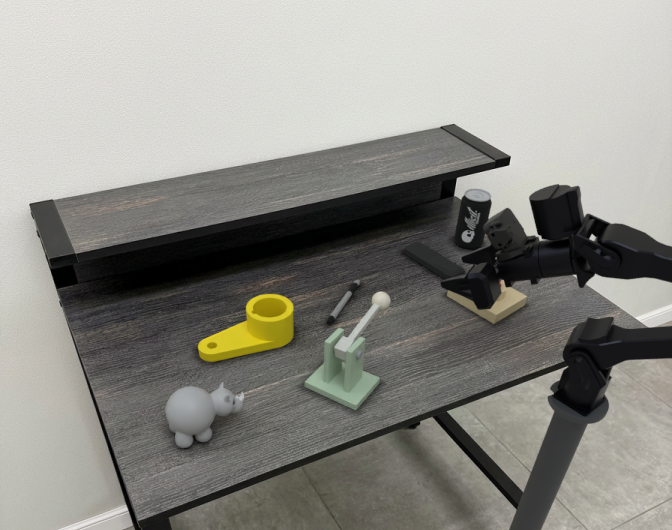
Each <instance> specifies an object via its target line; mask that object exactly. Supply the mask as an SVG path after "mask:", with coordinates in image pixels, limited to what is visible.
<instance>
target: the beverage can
mask: <svg viewBox="0 0 672 530" xmlns="http://www.w3.org/2000/svg"><path fill="white" fill-rule="evenodd" d="M492 202H493V201H492V194H491V193H490V192H489V191H487V190H485V189H482V188H467V190H465V191H464V194H463V196H462V197H461V199H460V205H459V211H458V215H457V222H456V227H455V232H454V238H453V240H454V242H455V243H456V245H457V246H458V247H459V248H462V249H465V250H477V249H479V248H481V246H482V245H483V244H484V240H485V236H486V234H485V232H484V229H483V226H484V225H485V224H486V223H487V222H488V220H489V219H490V213H491V209H492Z"/></svg>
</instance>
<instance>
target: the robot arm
mask: <svg viewBox="0 0 672 530" xmlns="http://www.w3.org/2000/svg"><path fill="white" fill-rule="evenodd" d="M528 200H529V204H530V209H531V212H532V217H533V221H534V225H535V229H536V233H537V235H538V236H536V235H535V234H533V235H528V234H526V232H525V229H524V227H523V225H522V224H521V222H520V221H519V220H518V218H517V216H516V215H515V214H514V212H513V210H512V209H511V208H510V207H505V208H504V209H502V210H501V211H499V212H497V213H495V214H494V215H492V216H491V217H489V218H488V222H487V223H486V224H485V225H484V226H483V229H484V232H485V236H487V239H488V240H489V242H490V243H488V244H485V245H484V246H482V247H478V248H476V249H474V250H473V251H471V252H468V253H466V254H464V255H462V256H461V261H462V263H463V264H467V265H472V266H471V267H470V268H469V269H468V271H467V272H466V273H465V274H464V275H460V276H456V277H453V278H449V279H446V280H445V279H443V280H441V281H440V287H441V288H442V289H444V290H445V291H448V290H449V291H451V292H454V293H456V294H459V295H461V296H463V297H465V298H467V299H469V300H471V301H473V302H474V304H475V305H476V307H477V309H478V310H485V309H491V308H492V306H493V305H494V303H495V302H496V300H497V299H498V298H499V296H500V295H501V293H502V291H501V288H500V284H499V282H500V281H501V280H504V283H505V287H506V288H507V287H511V288H513V286H514V284H515V283H516V282H524V281H525V282H526V281H529V282H530V285H531V286H533V285H539V283H540V281H541V280H542V279H551V278H560V277H570V276H576V280H577V285H578V288H580V289H583V288H585V286H586V285H587V284H588V282H589V281H590V280H591V279H592V278H593V277H595V276H599V277H601V278H607V279H616V280H625V281H630V280H636V279H644V278H645V279H654V280H659V281H662V282H666V283H671V284H672V245H668V244H665V243H663V242H660V241H658V240H656V239H655V238H654V237H652V236H651V235H649V234H648V233H647V232H645V231H642V230H641V229H637V228H635V227H632V226H630V225H627V224H624V223H617V222H615V223H611V222H609V221H607V220H604V219H602V218H600V217H598V216H596V215H593V214H591V213H586V214H585V213H584V209H583V204H582V203H583V202H582V191H581V186H580V185H574V186H570V185H568V184H559V183H557V184H552V185H548V186H545V187H543V188H540V189H538V190H535V191H534V192H532V193H531V194H530V195H529V197H528ZM592 235H593V236H594V240H592V239H591V237H592ZM539 236H540V237H541V240H540V237H539ZM669 359H672V325H665V326H652V327H651V326H650V327H635V328H625V327H622V326H620V325H617V324H615V317H614V316H606V317H601V318H593V317H589V316H588V317H587V318H586V321H581V322H579V323H577V325H576V326H575V327H574V328H573V329H572V331H571V333H570V335H569V337H568V340H567V341H566V343H565V345H564V348H563V351H562V360H563V361H564V363H565V364H566V365H567V367H566V368H564V369H563V370H562V372H561V376H560V377H559V380H560V381H559V380H558V381H559V383H558V386H557V388H558V389H559V390H558V391H556V392H555V393H552V395H553V397H554V398H555V399H557V400H558V401H560V402H562V403H563V404H565V405H566V406H568V407H569V408H571V409H573V410H574V411H576V412H577V413H579V414H580V415H582V416H584V417H586V416H588V415H589V414H590V413H591V412H593V411H594V410H595V409H596V408H597V407H599V406H600V405H601V404H602V403H603V402H605V400H606V398H605V397H604V394H605V395H606V392H607V389H608V387H609V386H610V383H611V380H612V379H613V377H612V376H611V373H612V370H613V367H614V366H617V365H619V364H621V363H624V362H627V361H643V360H644V361H646V360H669Z"/></svg>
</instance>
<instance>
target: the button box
mask: <svg viewBox="0 0 672 530" xmlns="http://www.w3.org/2000/svg"><path fill="white" fill-rule="evenodd" d="M500 288H501V291H502V293H501V295H500V296H499V298H498V299H497V300H496V302H495V303H494V305H493V306H492V308H491V309H485V310H478V309H477V307H476V305H475V304H474V302H473V301H471V300H469V299H467V298H465V297H463V296H461V295H459V294H456V293H454V292H451V291H449V290H447V293H446V296H447V298H450V299H451V300H453V301H454V302H456V303H458V304H459V305H461V306H463V307H464V308H466V309H468V310H469V311H471V312H473V313H474V314H476V315H477V316H480V317H481V318H483V319H484V320H486V321H488V322H490V323H491V324H492V325H495V324H497V323H498V322H500V321H501V320H503V319H505V318H507V317H509V315H512V314H513V313H515V312H517V311H518V310H519V309H521V308H523V307H525V306H526V303H527V300H528V296H527V295H526V294H524V293H522V292H521V291H518V290H517V289H514V288H513V287H507V288H506V287H505V283H504V280H501V283H500Z"/></svg>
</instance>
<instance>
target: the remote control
mask: <svg viewBox="0 0 672 530" xmlns="http://www.w3.org/2000/svg"><path fill="white" fill-rule="evenodd" d="M402 253H403V254H404V255H406V256H407V257H408V258H410V259H412V260H413V261H415V262H417V263H418V264H420V265H422V266H423V267H424V268H426V269H428V270H430V271H431V272H432V273H434V274H436V275H437V276H439V277H440V278H442V279H443V280H446V279H449V278H453V277H456V276H460V275H464V274H466V273H465V271H466V270H465V268H464V267H462V266H461V265H459V264H457V263H456V262H454V261H452V260H451V259H449V258H447V257H446V256H444V255H442V254H441V253H439V252H437V251H435V250H434V249H432V248H430V247H429V246H427V245H426V244H424V243H422V242H419V241H416V242H412V243H410V244H408V245H406V246H404V249H403V252H402Z"/></svg>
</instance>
